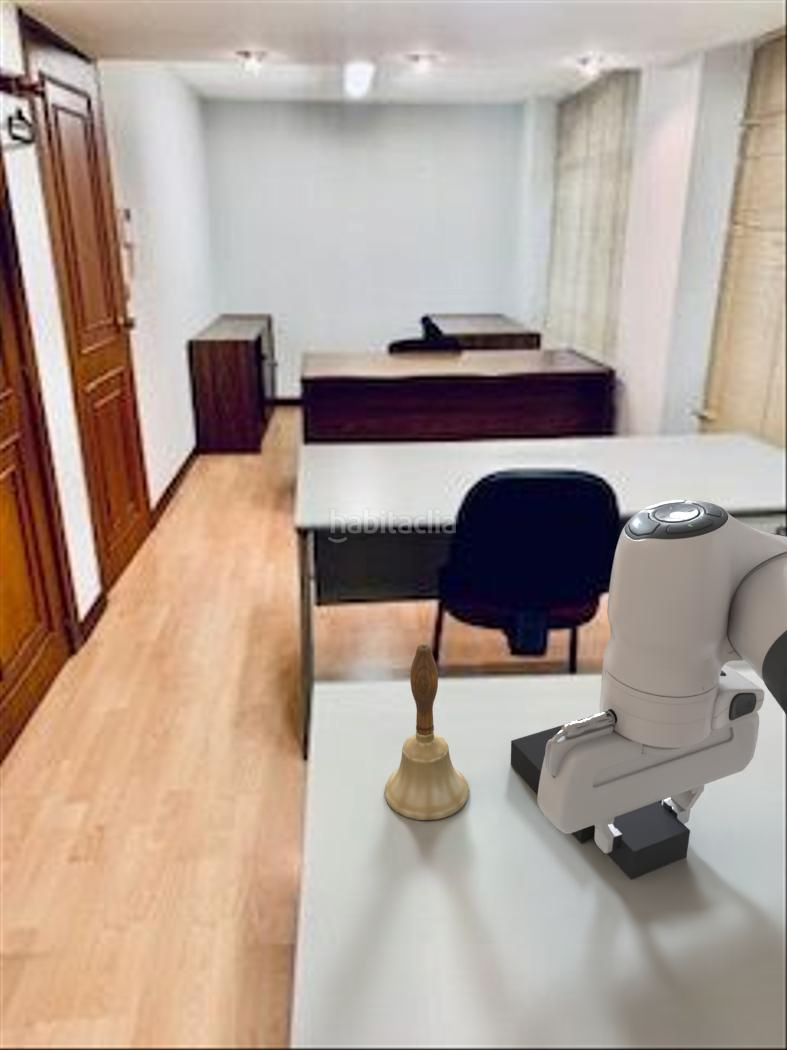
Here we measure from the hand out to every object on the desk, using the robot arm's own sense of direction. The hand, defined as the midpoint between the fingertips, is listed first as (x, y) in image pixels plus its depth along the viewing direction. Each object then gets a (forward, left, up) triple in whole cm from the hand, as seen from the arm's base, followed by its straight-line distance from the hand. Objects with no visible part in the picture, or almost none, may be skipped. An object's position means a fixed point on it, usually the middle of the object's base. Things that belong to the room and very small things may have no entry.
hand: (641, 833), depth 66 cm
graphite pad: (0, -1, -2) cm, 2 cm away
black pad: (0, -9, -2) cm, 9 cm away
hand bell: (+14, -15, -2) cm, 20 cm away
